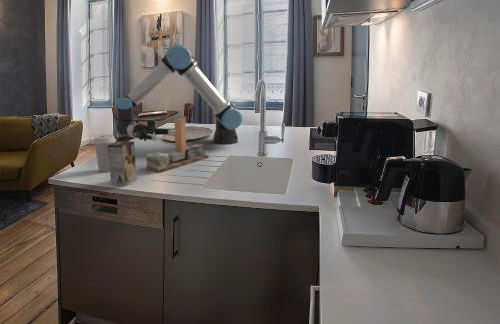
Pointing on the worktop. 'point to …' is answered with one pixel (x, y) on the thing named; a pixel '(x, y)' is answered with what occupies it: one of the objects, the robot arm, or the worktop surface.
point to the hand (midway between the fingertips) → (167, 136)
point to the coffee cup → (103, 151)
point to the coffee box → (122, 163)
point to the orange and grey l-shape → (179, 141)
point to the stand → (162, 163)
